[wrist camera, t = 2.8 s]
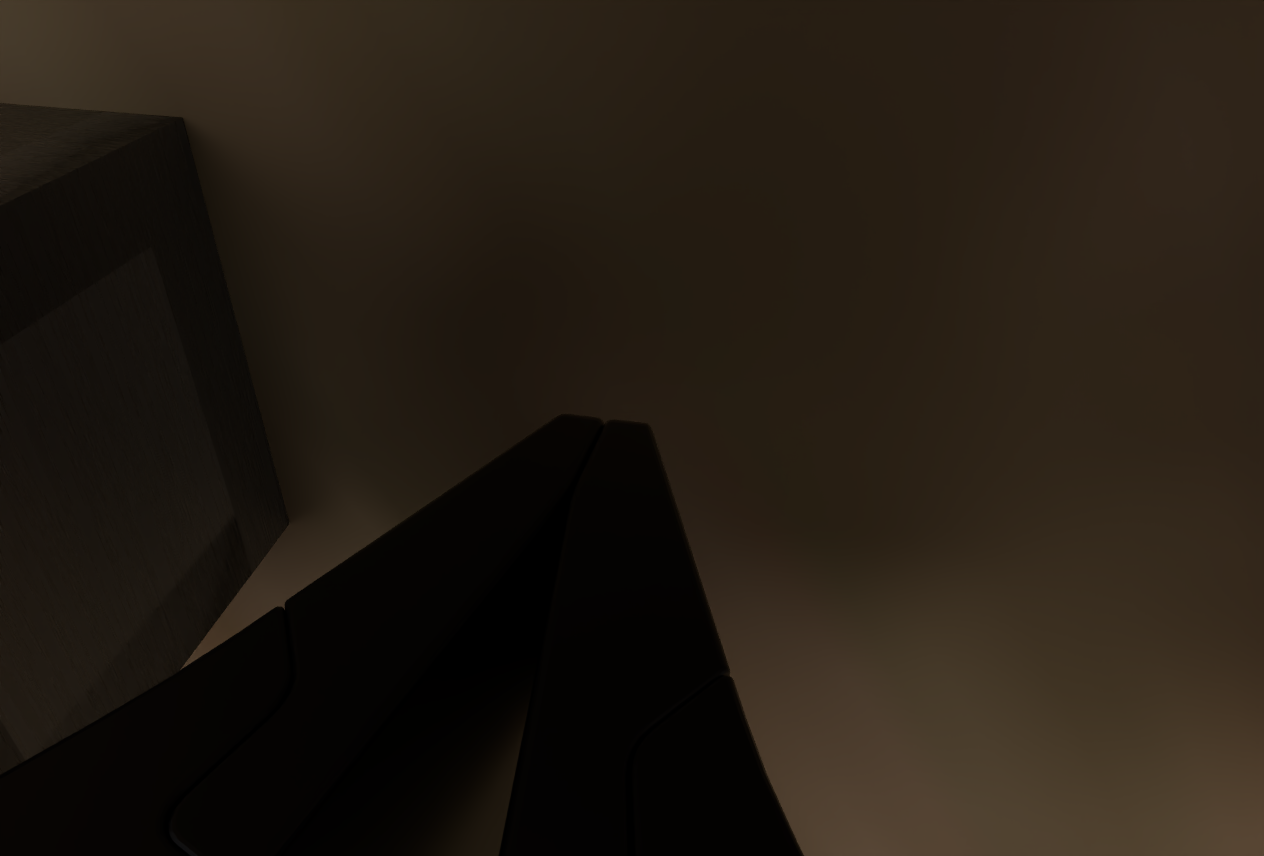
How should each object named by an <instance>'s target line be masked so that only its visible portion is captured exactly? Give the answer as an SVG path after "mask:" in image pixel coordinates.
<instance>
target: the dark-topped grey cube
mask: <svg viewBox="0 0 1264 856" xmlns="http://www.w3.org/2000/svg"><path fill="white" fill-rule="evenodd" d="M288 525H289V520H288V516H287V513H286V509H285V505H284V501H283V497H282V494H281V490H280V486H279V482H278V478H277V475H276V471H275V467H274V463H273V459H272V456H271V452H270V448H269V444H268V440H267V437H266V433H265V429H264V425H263V421H262V418H261V414H260V410H259V406H258V402H257V399H256V395H255V391H254V387H253V383H252V379H251V376H250V372H249V368H248V364H247V360H246V357H245V353H244V349H243V345H242V341H241V338H240V334H239V330H238V326H237V322H236V319H235V315H234V311H233V307H232V303H231V300H230V296H229V292H228V288H227V284H226V281H225V277H224V273H223V269H222V265H221V262H220V258H219V254H218V250H217V246H216V243H215V239H214V235H213V231H212V227H211V224H210V220H209V216H208V212H207V208H206V205H205V201H204V197H203V193H202V189H201V186H200V182H199V178H198V174H197V170H196V167H195V163H194V159H193V155H192V151H191V148H190V144H189V140H188V136H187V132H186V129H185V125H184V121H183V118H181V117H169V116H156V115H143V114H131V113H118V112H105V111H92V110H80V109H67V108H54V107H42V106H29V105H16V104H4V103H0V775H1V774H2V773H4V772H6V771H8V770H9V769H11V768H13V767H15V766H16V765H18V764H20V763H22V762H23V761H25V760H27V759H29V758H31V757H32V756H34V755H36V754H38V753H39V752H41V751H43V750H45V749H46V748H48V747H50V746H52V745H53V744H55V743H57V742H59V741H60V740H62V739H64V738H66V737H67V736H69V735H71V734H73V733H74V732H76V731H78V730H80V729H82V728H83V727H85V726H87V725H89V724H90V723H92V722H94V721H96V720H97V719H99V718H101V717H103V716H104V715H106V714H108V713H109V712H111V711H113V710H114V709H116V708H118V707H119V706H121V705H123V704H124V703H126V702H128V701H130V700H131V699H133V698H135V697H136V696H138V695H140V694H141V693H143V692H145V691H146V690H148V689H150V688H151V687H153V686H155V685H157V684H158V683H160V682H162V681H163V680H165V679H167V678H168V677H170V676H172V675H173V674H175V673H177V672H178V671H180V669H181V668H182V667H183V665H184V664H185V663H186V661H187V660H188V659H189V657H190V656H191V655H192V653H193V652H194V650H195V649H196V648H197V646H198V645H199V644H200V642H201V641H202V640H203V638H204V637H205V636H206V634H207V633H208V632H209V630H210V629H211V628H212V626H213V625H214V624H215V622H216V621H217V620H218V618H219V617H220V616H221V614H222V613H223V612H224V610H225V609H226V608H227V606H228V605H229V604H230V602H231V601H232V600H233V598H234V597H235V596H236V594H237V593H238V592H239V590H240V589H241V588H242V586H243V585H244V584H245V582H246V581H247V580H248V578H249V577H250V576H251V574H252V573H253V572H254V570H255V569H256V568H257V566H258V565H259V564H260V562H261V561H262V560H263V558H264V557H265V556H266V554H267V553H268V552H269V550H270V549H271V548H272V546H273V545H274V544H275V542H276V541H277V540H278V538H279V537H280V535H281V534H282V533H283V531H284V530H285V529H286V527H287V526H288Z"/></svg>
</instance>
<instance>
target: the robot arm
mask: <svg viewBox="0 0 1264 856" xmlns="http://www.w3.org/2000/svg"><path fill="white" fill-rule="evenodd" d="M0 856H804V855H803V853H802V851H801V849H800V847H799V845H798V843H797V840H796V838H795V836H794V834H793V831H792V829H791V827H790V825H789V823H788V820H787V818H786V816H785V814H784V812H783V809H782V807H781V805H780V803H779V800H778V798H777V796H776V794H775V792H774V789H773V787H772V785H771V783H770V780H769V778H768V776H767V773H766V771H765V768H764V765H763V763H762V760H761V757H760V755H759V752H758V749H757V746H756V744H755V741H754V738H753V736H752V733H751V730H750V727H749V725H748V722H747V719H746V717H745V714H744V710H743V707H742V704H741V701H740V698H739V695H738V692H737V689H736V686H735V683H734V680H733V678H732V677H730V669H729V666H728V663H727V660H726V657H725V654H724V650H723V647H722V644H721V641H720V638H719V635H718V632H717V629H716V626H715V623H714V619H713V616H712V613H711V610H710V607H709V604H708V601H707V598H706V595H705V592H704V589H703V585H702V582H701V579H700V576H699V573H698V570H697V567H696V564H695V561H694V558H693V555H692V551H691V548H690V545H689V542H688V539H687V536H686V533H685V530H684V527H683V524H682V521H681V517H680V514H679V511H678V508H677V505H676V502H675V499H674V496H673V493H672V490H671V487H670V483H669V480H668V477H667V474H666V471H665V468H664V465H663V462H662V459H661V456H660V453H659V449H658V446H657V443H656V440H655V437H654V434H653V431H652V429H651V427H650V426H649V425H648V424H646V423H640V422H631V421H622V420H609V421H607V422H606V423H605V424H604V422H603V420H602V419H600V418H596V417H588V416H580V415H572V414H561V415H559V416H557V417H556V418H554V419H553V420H551V421H550V422H548V423H547V424H545V425H544V426H542V427H541V428H539V429H538V430H536V431H535V432H533V433H532V434H531V435H529V436H528V437H526V438H525V439H523V440H522V441H520V442H519V443H517V444H516V445H514V446H513V447H511V448H510V449H508V450H507V451H505V452H504V453H503V454H501V455H500V456H498V457H497V458H495V459H494V460H492V461H491V462H489V463H488V464H486V465H485V466H483V467H482V468H480V469H479V470H478V471H476V472H475V473H473V474H472V475H470V476H469V477H467V478H466V479H464V480H463V481H461V482H460V483H458V484H457V485H455V486H454V487H453V488H451V489H450V490H448V491H447V492H445V493H444V494H442V495H441V496H439V497H438V498H436V499H435V500H433V501H432V502H430V503H429V504H427V505H426V506H425V507H423V508H422V509H420V510H419V511H417V512H416V513H414V514H413V515H411V516H410V517H408V518H407V519H405V520H404V521H402V522H401V523H400V524H398V525H397V526H395V527H394V528H392V529H391V530H389V531H388V532H386V533H385V534H383V535H382V536H380V537H379V538H377V539H376V540H375V541H373V542H372V543H370V544H369V545H367V546H366V547H364V548H363V549H361V550H360V551H358V552H357V553H355V554H354V555H352V556H351V557H349V558H348V559H347V560H345V561H344V562H342V563H341V564H339V565H338V566H336V567H335V568H333V569H332V570H330V571H329V572H327V573H326V574H324V575H323V576H322V577H320V578H319V579H317V580H316V581H314V582H313V583H311V584H310V585H308V586H307V587H305V588H304V589H302V590H301V591H299V592H298V593H297V594H295V595H294V596H292V597H291V598H289V599H288V600H287V601H286V602H285V610H284V608H282V607H275V608H274V609H272V610H271V611H269V612H268V613H266V614H265V615H264V616H262V617H261V618H259V619H258V620H256V621H255V622H253V623H252V624H250V625H249V626H247V627H246V628H244V629H243V630H241V631H240V632H238V633H237V634H235V635H234V636H232V637H231V638H229V639H228V640H226V641H225V642H223V643H222V644H220V645H218V646H217V647H215V648H214V649H212V650H211V651H209V652H208V653H206V654H205V655H203V656H201V657H200V658H198V659H197V660H195V661H194V662H192V663H191V664H189V665H188V666H186V667H184V668H183V669H181V670H180V671H178V672H177V673H175V674H173V675H172V676H170V677H168V678H167V679H165V680H163V681H162V682H160V683H158V684H157V685H155V686H153V687H151V688H150V689H148V690H146V691H145V692H143V693H141V694H140V695H138V696H136V697H135V698H133V699H131V700H130V701H128V702H126V703H124V704H123V705H121V706H119V707H118V708H116V709H114V710H113V711H111V712H109V713H108V714H106V715H104V716H103V717H101V718H99V719H97V720H96V721H94V722H92V723H90V724H89V725H87V726H85V727H83V728H82V729H80V730H78V731H76V732H74V733H73V734H71V735H69V736H67V737H66V738H64V739H62V740H60V741H59V742H57V743H55V744H53V745H52V746H50V747H48V748H46V749H45V750H43V751H41V752H39V753H38V754H36V755H34V756H32V757H31V758H29V759H27V760H25V761H23V762H22V763H20V764H18V765H16V766H15V767H13V768H11V769H9V770H8V771H6V772H4V773H2V774H1V775H0Z"/></svg>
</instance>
